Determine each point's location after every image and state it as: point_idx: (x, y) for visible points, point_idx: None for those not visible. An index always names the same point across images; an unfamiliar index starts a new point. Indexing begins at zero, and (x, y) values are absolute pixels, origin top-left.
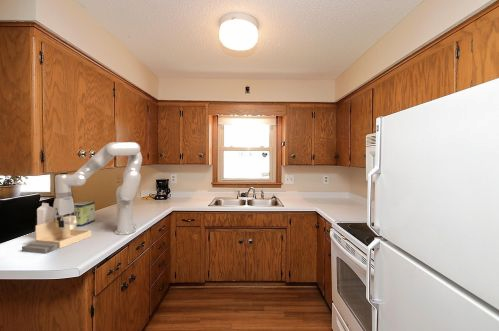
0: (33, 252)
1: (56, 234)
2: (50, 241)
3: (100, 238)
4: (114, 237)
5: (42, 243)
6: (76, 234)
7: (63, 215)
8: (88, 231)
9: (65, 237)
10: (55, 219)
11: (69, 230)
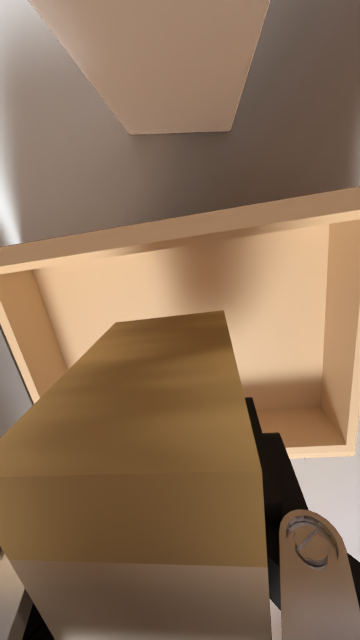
0: None
1: (174, 247)
2: (35, 401)
3: (309, 480)
4: (344, 529)
5: (4, 355)
6: (332, 296)
7: (262, 528)
8: (327, 453)
9: (260, 244)
10: (24, 428)
11: (350, 220)
